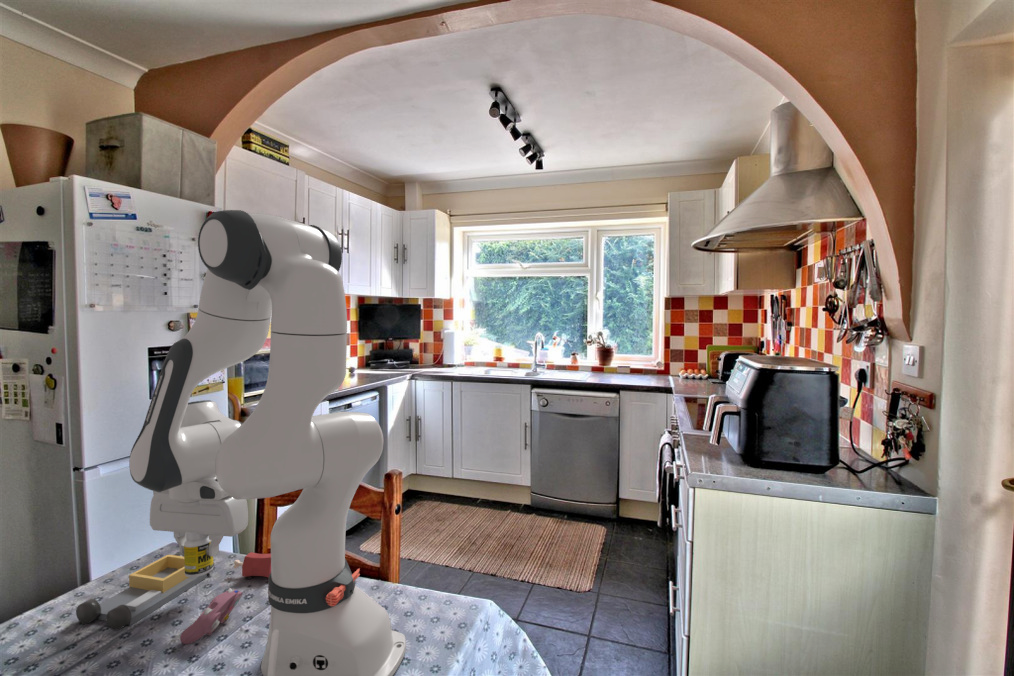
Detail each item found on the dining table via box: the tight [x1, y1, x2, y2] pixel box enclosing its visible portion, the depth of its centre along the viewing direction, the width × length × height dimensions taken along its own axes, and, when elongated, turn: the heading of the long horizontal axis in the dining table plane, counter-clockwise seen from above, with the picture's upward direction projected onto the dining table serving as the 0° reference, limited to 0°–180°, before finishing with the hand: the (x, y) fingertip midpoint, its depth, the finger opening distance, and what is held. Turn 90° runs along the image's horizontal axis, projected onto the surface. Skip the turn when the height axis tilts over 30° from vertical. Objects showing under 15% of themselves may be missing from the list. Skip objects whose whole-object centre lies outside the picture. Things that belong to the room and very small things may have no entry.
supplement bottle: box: [184, 532, 215, 577], centre depth 92 cm, size 5×5×8 cm
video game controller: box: [179, 587, 243, 645], centre depth 84 cm, size 10×5×7 cm, turn 177°
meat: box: [232, 551, 271, 578], centre depth 100 cm, size 12×5×5 cm, turn 87°
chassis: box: [75, 551, 215, 631], centre depth 93 cm, size 11×19×4 cm, turn 167°
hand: (199, 553), depth 92 cm, fingers closed on supplement bottle, 5 cm apart
